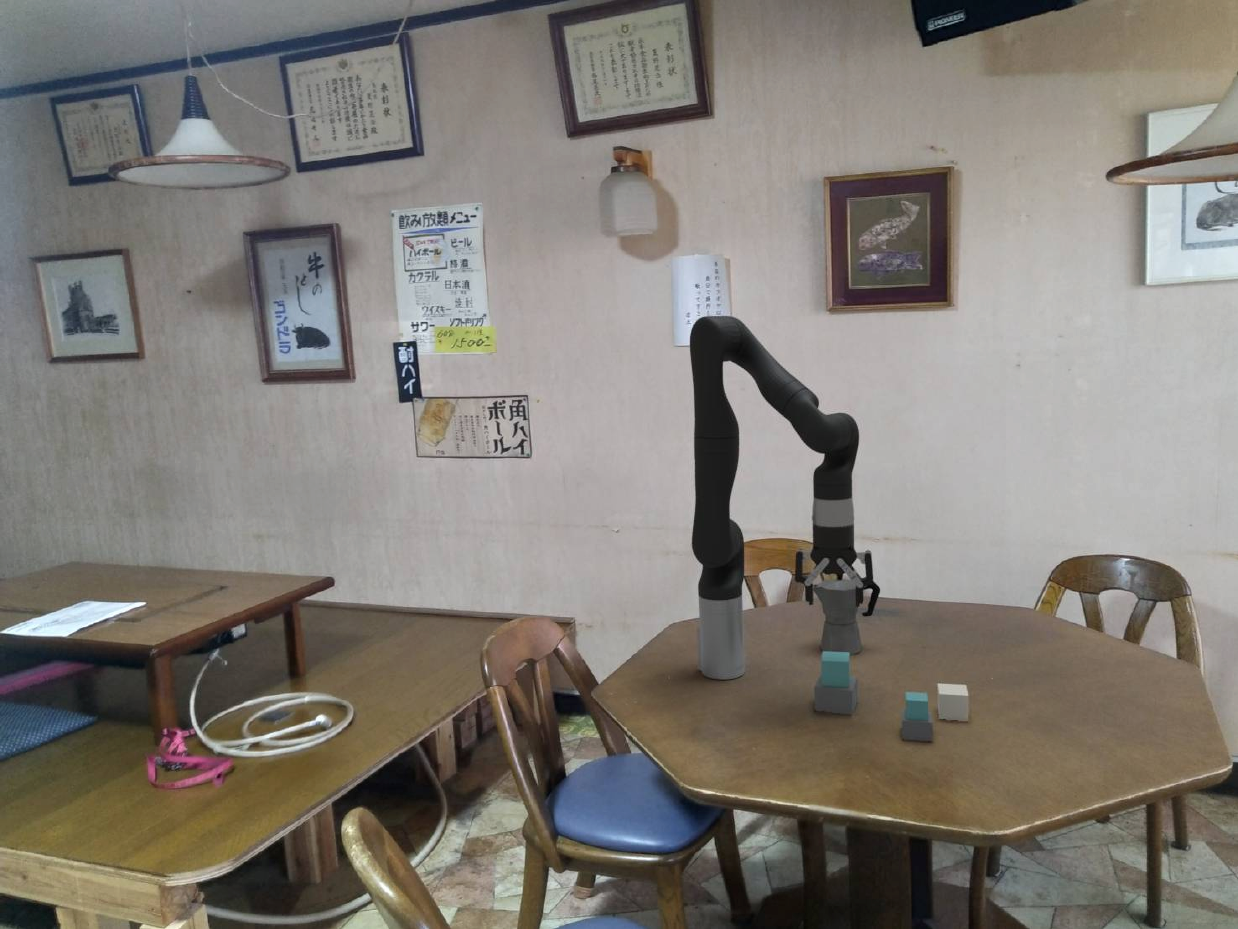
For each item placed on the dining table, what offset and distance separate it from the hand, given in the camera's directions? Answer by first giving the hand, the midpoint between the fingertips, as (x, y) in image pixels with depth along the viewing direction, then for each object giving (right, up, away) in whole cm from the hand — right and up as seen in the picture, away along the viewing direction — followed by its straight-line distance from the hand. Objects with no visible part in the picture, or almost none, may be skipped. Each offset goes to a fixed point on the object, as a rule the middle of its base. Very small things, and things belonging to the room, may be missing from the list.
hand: (834, 604), depth 167 cm
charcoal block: (+1, -20, +3) cm, 20 cm away
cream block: (+21, -20, -4) cm, 29 cm away
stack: (+12, -21, -11) cm, 27 cm away
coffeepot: (+11, -15, +32) cm, 37 cm away
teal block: (+1, -15, +2) cm, 15 cm away
